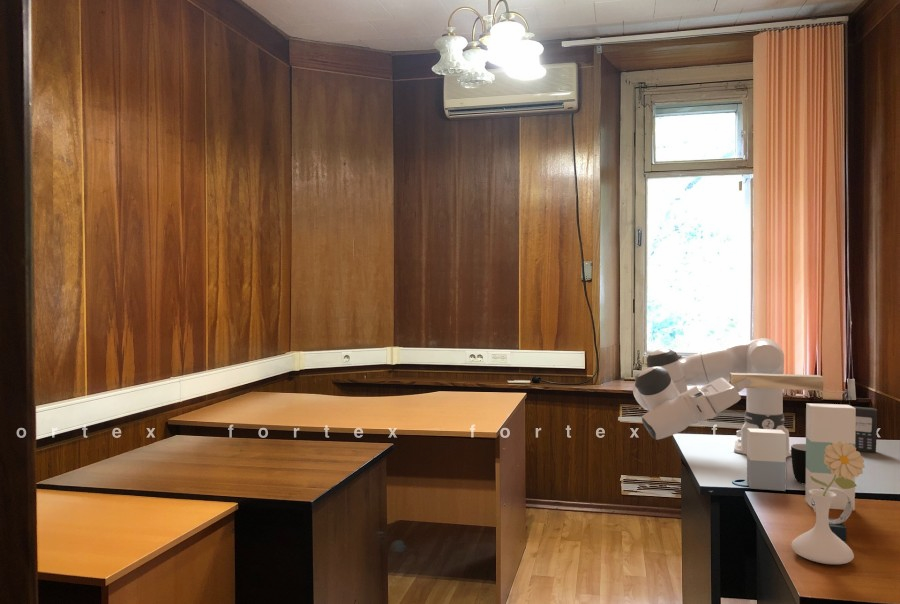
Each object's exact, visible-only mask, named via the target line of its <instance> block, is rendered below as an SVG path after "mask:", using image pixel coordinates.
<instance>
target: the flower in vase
mask: <svg viewBox="0 0 900 604" xmlns="http://www.w3.org/2000/svg"><path fill="white" fill-rule="evenodd" d="M825 452H826V454H824V457H825V458H824V459H825V461H824V463H825V464H826V465H827V467H828V469H831V473H832V474H835V476H834V478H833V480H832V481H831V483H830V484H829V485H827V484H826V483H824V482H821V481H819V480H817V479H815V478H813V477H812V476H811V479H812V480H813V481H814V482H816V483H819V484H821V485H823V486H826V487H827V488H826V490H821V489H812V490H809V493H810V494H811V496H812V497H813V500H814V502H815V507H816V513H815V525H814V526H813V527H812V528H811V529H809V530H807V531H806V532H803V533H801V534H800V535H798V536H796V537H795V538H793V540H792V542H791V547H790V548H792V550H793V551H794V552H795V554H797V555H799V556H800V557H802V558H804V559H807V560H809V561H812V562H814V563H815V562H816V563H818V564H819V563H820V564H825V565H843V564H845V565H846V564H848V563H850V562H851V561H852V560H853V559H854V558H855V554H854V552H853V550H852V549H851V547H849V545H848V544H847V543H846V542H845V541H842V540H841V539H840V538H839V537H837V536H836V535H835V534H834V533H833V532H832V531H831V530H830V527H829V523H828V518H829V515H830V514H829V513H830V509H829V508H830V504H831V502H832V500H833V499H834V498H835V497H836V494H835V493H833V492H831V491H827V490H828V489H829V487H830V486H831V484H832V483H833V482H834V480H835V482H836V483H837V485H839V486H840V487H841V488H843V489H849V488H853V487H855V488H856V487H857V486H858V485H857V484H856V482H855V483H854V482H853V481H852V480H851V479H853V478H854V476H855V478H857V477H859V476H860V475H863V473H864V471H863V469H864V468H865V464H864V462H865V460H864V457H863V456H862V455H861V453H860V452H861V451H856V448H855V447H854V446H853V445H851V444H850V445H849V444H848V443H847V442H844V443H843V442H841V441H839V440H838V441H837V442H833V443H832V445H828V446H826V449H825ZM836 475H837V476H839V477H838V478H836ZM853 475H854V476H853ZM835 478H836V479H835Z"/></svg>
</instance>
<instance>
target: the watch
mask: <svg viewBox="0 0 900 604" xmlns="http://www.w3.org/2000/svg"><path fill="white" fill-rule="evenodd" d="M826 488H827V487H825V488H820V489H821V490H826ZM827 491H831V492H832V491H839V492H841V493H843V494H845V495H846V496H847V498H848V502H847V505H846V508H845V510H843V512H842V513H841V514H840V515H839V517H838V518H830V517H828V523H829V527H830V530H831V531H832V532H833V533H834V534H835V535H836V536H837V537H839V538H840V539H841V540H842V541H843V542H844V543H846V542H847V526H845V524H844V523H845V522H846V521H847V520H848V519H849V517H850V516H851V514H852V512H853V511H854V510H853V504H852V500H851V498H850V497H849V496H848V495H847V494H846V493H845V492H844V491H843V490H841V489H839V488H836V487H829V489H828V490H827ZM812 506H813V507H812V509H813V511H814V513H815V514H816V507H815V502H814V500H813V499H812Z"/></svg>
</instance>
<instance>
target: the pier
mask: <svg viewBox="0 0 900 604" xmlns="http://www.w3.org/2000/svg"><path fill="white" fill-rule="evenodd" d="M786 458H787V457H786V433H785V432H783V431H782V430H775V429H753V428H747V455H746V485H747V486H748V485H749V486H748V487H749V489H754V490H764V491H765V490H769V491H783V492H786V487H787V486H786V482H787V481H786V480H787V479H786V476H787V475H786V467H787V466H786V465H787V464H786V463H787V462H786V461H787V459H786Z"/></svg>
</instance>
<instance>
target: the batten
mask: <svg viewBox="0 0 900 604" xmlns="http://www.w3.org/2000/svg"><path fill="white" fill-rule="evenodd" d="M745 378H749V379H750V381H751V385H749V386H747V387H745V388H744V389H747V388H760V389H783V390H795V391H824V376H822V375H821V374H820V375H819V374H792V373H791V374H788V373H786V374H785V373H784V374H754V373H730V379H729V380H730V384H731V385H733V384H735V383H738V382H740V381H741V380H743V379H745Z"/></svg>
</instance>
